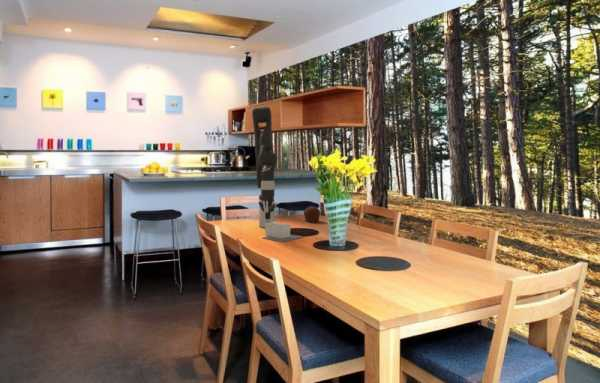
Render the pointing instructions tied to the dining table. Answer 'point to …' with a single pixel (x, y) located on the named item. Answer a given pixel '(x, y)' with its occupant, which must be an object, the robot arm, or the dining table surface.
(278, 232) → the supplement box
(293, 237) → the mat
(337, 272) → the dining table surface
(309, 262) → the dining table surface
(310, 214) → the muffin
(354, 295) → the dining table surface
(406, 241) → the dining table surface
